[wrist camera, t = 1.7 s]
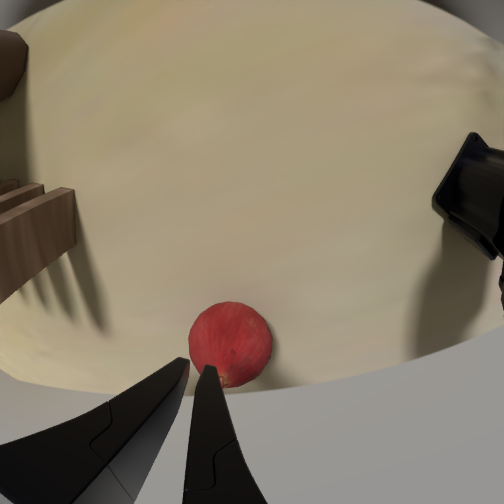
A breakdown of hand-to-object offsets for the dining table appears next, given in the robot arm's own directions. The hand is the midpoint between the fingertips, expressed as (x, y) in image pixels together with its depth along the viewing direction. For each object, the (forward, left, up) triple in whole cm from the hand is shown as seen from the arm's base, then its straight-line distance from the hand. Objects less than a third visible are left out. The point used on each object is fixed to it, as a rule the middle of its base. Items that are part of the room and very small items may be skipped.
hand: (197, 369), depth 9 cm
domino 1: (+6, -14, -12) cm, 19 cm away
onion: (+6, +3, -12) cm, 14 cm away
